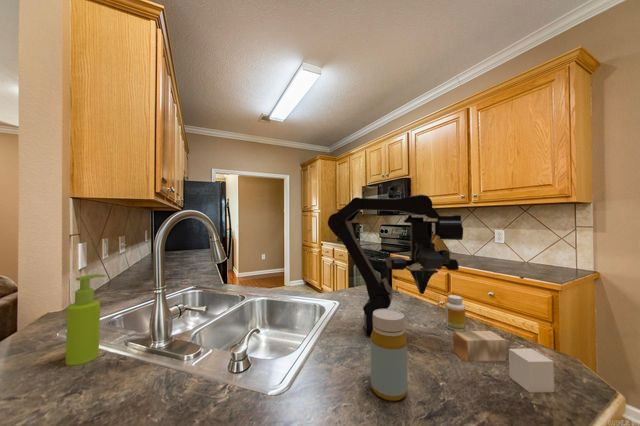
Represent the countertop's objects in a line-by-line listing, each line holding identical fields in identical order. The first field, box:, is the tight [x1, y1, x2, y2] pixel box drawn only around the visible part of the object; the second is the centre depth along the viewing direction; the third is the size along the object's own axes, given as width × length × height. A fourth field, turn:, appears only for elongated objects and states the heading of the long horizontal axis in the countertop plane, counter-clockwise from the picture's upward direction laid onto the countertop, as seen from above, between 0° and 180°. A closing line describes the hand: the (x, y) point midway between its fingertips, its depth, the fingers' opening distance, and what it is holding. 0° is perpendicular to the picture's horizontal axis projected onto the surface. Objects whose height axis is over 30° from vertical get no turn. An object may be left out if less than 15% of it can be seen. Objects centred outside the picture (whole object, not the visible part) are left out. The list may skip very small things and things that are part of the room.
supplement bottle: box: [445, 294, 466, 331], centre depth 79 cm, size 5×5×10 cm
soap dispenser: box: [64, 273, 107, 367], centre depth 62 cm, size 6×7×20 cm
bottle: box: [370, 308, 408, 402], centre depth 50 cm, size 7×7×15 cm
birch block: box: [452, 330, 507, 363], centre depth 63 cm, size 5×5×10 cm
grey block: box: [508, 348, 555, 393], centre depth 52 cm, size 5×5×6 cm
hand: (421, 293), depth 71 cm, fingers closed
